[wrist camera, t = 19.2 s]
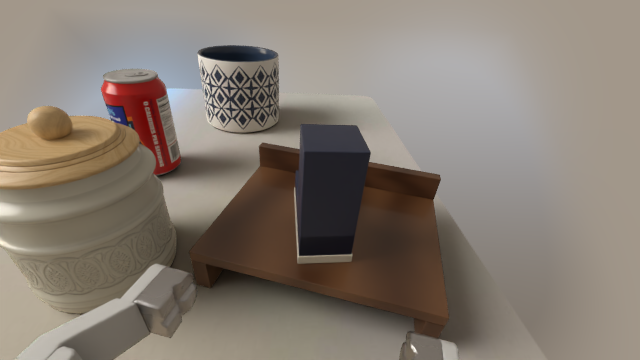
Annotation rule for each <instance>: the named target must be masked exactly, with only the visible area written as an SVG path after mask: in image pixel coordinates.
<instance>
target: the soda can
mask: <svg viewBox="0 0 640 360" xmlns="http://www.w3.org/2000/svg"><path fill="white" fill-rule="evenodd" d="M157 76H158V74H157V73H156V72H155V71H152V70H147V69H123V70H116V71H111V72H108V73H106V74H104V75H103V78H104V83H103V85H102V87H101V91H102V95H103V98H104V101H105V103H106V106H107V109H108V112H109V115H110V118H111V121H112V122H115V123H119V124H122V125H125V126H128V127H130V128H132V129H133V130H135V131H136V132H137V134H138V135H139V139H140V142H139V144H142V145H144V146H145V147H147V148H149V149H150V150H151V151H152V152H153V154H154V156H155V158H156V166H155V169H154V172H153V173H154V174H155V175H156V176H159V175H163V174H166V173H168V172H170V171H172V170H173V169H175V168H176V167H177V166H178V165H179V164H180V162H181V155H180V151H179V146H178V141H177V137H176V132H175V127H174V123H173V118H172V114H171V109H170V104H169V100H168V95H167V91H166V87H165V84H164V83H163V82H162V81H161V80H160V79H159V78H158V77H157Z"/></svg>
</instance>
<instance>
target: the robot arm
mask: <svg viewBox="0 0 640 360" xmlns="http://www.w3.org/2000/svg"><path fill="white" fill-rule="evenodd" d="M193 280H194V276H193V273H189V272H186V271H182V270H178V269H174V268H171V267H168V266H164V265H160V264H156V263H155V264H154V265H152V266H150V267H149V268H148V270H147V271H146V272H145V273H144V274H143V275H142V276H141V277H140V278H139V279H138V280H137V281H136V282H135V283H134V284H133V286H132V287H131V288H130V289H129V290H128V291H127V292H126V293H125V294H124V295H123V296H122V297H121V298H120V299H119V298H115V299H113V300H111V301H109V302H107V303H105V304H103V305H101V306H99V307H97V308H95V309H93V310H91V311H89V312H87V313H85V314H83V315H81V316H79V317H77V318H75V319H73V320H71V321H69V322H67V323H65V324H63V325H60V326H58V327H56V328H54V329H52V330H50V331H48V332H46V333H44V334H42V335H40V336H39V337H38V338H37V339H35V340H34V341H33V342H32V343H31V344H30V345H29V346H28V347H27V348H26V349H25V350H24V351H23V352H22V353H20V354H19V355H18V356H17V357H16V358H15V359H14V360H113V359H115V358H116V357H118V356H119V355H121V354H122V353H123V352H125V351H126V350H128V349H129V348H131V347H132V346H133V345H135V344H136V343H138V342H139V341H141V340H142V339H143V338H145V337H146V336H148V335H149V334H150V332H151V333H154V334H158V335H161V336H165V337H169V338H171V337H172V335H173V334H174V333H175V331H176V330H177V328H178V327H179V325H180V324H181V322H182V315H183V314H184V313H186V312H188V311H189V310H190V309H191V307H192V306H193V304H194V302H195V300H196V297H197V287H196V285H195V284H194V283H193ZM399 360H460V359H459V352H458V347H457V345H456V344H455V343H453V342H449V341H445V340H442V339H439V338H435V337H431V336H427V335H423V334H419V333H415V332H411V331H409V332H408V333H407V335H406V342H405V343H403V344H402V347H401V351H400V356H399Z"/></svg>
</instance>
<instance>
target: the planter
mask: <svg viewBox="0 0 640 360" xmlns="http://www.w3.org/2000/svg"><path fill="white" fill-rule="evenodd" d="M198 61H199V68H200V75H201V82H202V88H203V95H204V101H205V108H206V114H207V120H208V122H209V123H210V124H211V125H212V126H214V127H216V128H218V129H221V130H224V131H228V132H237V133H248V132H256V131H261V130H264V129H267V128H269V127H271V126H273V125H274V124H276V123H277V121H278V119H279V76H278V75H279V69H278V68H279V65H278V54H277V53H276V52H275V51H272V50H269V49H265V48H260V47H252V46H236V45H228V46H213V47H207V48H204V49H201V50H199V51H198Z"/></svg>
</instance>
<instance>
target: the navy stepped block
mask: <svg viewBox="0 0 640 360" xmlns="http://www.w3.org/2000/svg"><path fill="white" fill-rule="evenodd" d="M370 153H371V152H370V150H369V148H368V146H367V144H366V142H365V140H364V139H363V137H362V135H361V133H360V131H359V129H358V127H357V126H354V125H317V124H301V127H300V153H299V171H297V170H296V174H295V187H294V202H295V222H296V242H297V262H298V264H306V263H336V262H351V261H352V249H353V243H354V238H355V232H356V227H357V222H358V216H359V211H360V206H361V201H362V195H363V190H364V185H365V180H366V174H367V169H368V164H369V159H370Z"/></svg>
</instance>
